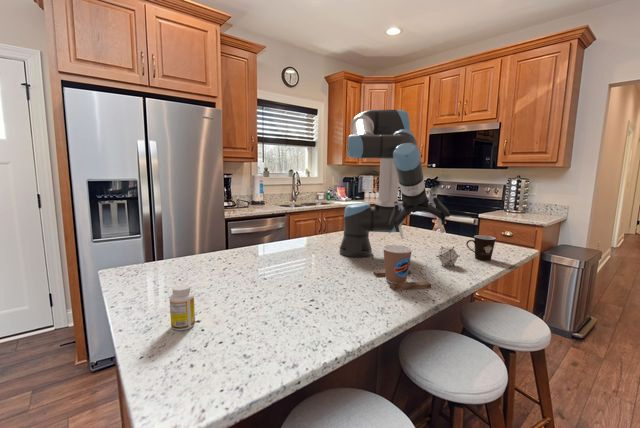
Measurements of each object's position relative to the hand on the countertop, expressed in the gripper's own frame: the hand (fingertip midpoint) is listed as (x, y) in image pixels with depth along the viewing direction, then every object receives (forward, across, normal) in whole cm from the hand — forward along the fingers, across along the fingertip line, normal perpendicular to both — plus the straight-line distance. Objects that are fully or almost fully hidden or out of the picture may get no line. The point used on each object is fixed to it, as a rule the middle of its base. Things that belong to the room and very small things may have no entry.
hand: (421, 233), depth 116 cm
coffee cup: (+9, -12, -13) cm, 19 cm away
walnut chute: (+10, -10, -12) cm, 18 cm away
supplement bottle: (-31, -61, -46) cm, 82 cm away
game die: (+28, +8, +5) cm, 30 cm away
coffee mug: (+40, +23, +15) cm, 49 cm away
